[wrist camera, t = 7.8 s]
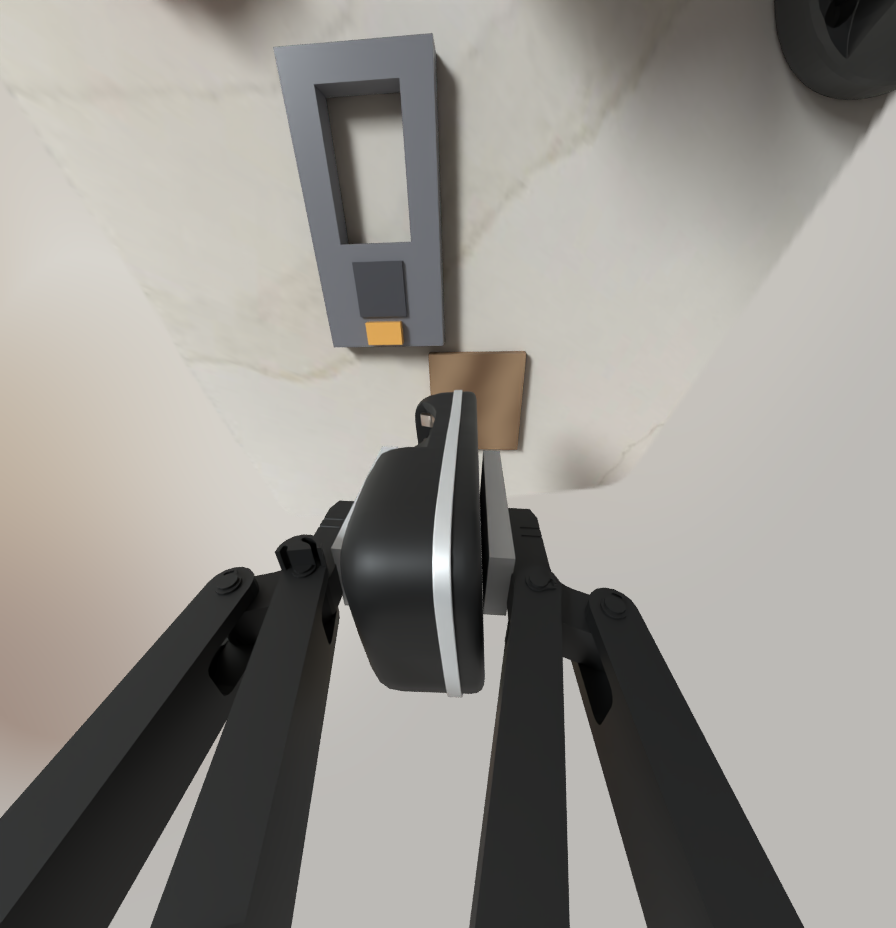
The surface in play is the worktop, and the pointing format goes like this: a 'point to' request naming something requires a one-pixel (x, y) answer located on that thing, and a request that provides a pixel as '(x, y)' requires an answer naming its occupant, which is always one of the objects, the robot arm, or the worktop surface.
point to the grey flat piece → (340, 264)
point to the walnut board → (485, 390)
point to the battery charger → (421, 555)
